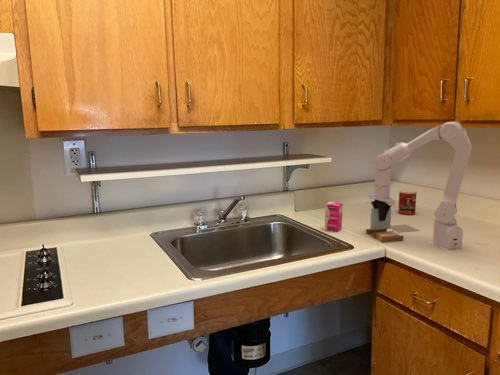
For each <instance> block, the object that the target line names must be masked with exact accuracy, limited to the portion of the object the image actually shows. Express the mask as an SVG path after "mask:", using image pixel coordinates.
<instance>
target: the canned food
mask: <svg viewBox="0 0 500 375" xmlns="http://www.w3.org/2000/svg"><path fill="white" fill-rule="evenodd" d="M417 193H418V192H417V191H416V190H415V189H400V190H399V193H398V194H399V195H398V210H397V211H398V214H400V215H403V216H413V215H415V213H416V206H417Z"/></svg>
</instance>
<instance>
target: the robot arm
mask: <svg viewBox="0 0 500 375" xmlns="http://www.w3.org/2000/svg"><path fill="white" fill-rule="evenodd" d="M442 139H443V141H446V142H447V143H448V144H449V145H450V146H451V147H452V149H453V150H454V151H455V152H454V155H453V156H454V157H453V159H452V163H451V167H450V170H449V173H448V178H447V181H446V184H445V186H444V187H445V189H444V190H443V195H442V197H441V200H440V203H439V205H438V206H437V207H436V209H435V211H434V217H435V218H434V221H433V234H432V241H427V243H428V244H431V245H433V246H435V247H437V248H440V249H442V250H444V251H447V250H456V249H464V247H463V238H464V237H463V235H464V231H463V228H462V227H460V226H459V225H458V223H457V222H458V220H456V217H455V216H456V215H457V212H458V208H457V202H458V198H459V194H460V190H461V187H462V184H463V180H464V176H465V173H466V169H467V165H468V162H469V159H470V156H471V152H472V144H471V141H470V139H469V136H468V134H467V131H466V129H465V128H464V127H463V125H462V124H460V123H459V122H458V121H448V122H444V123H442V124H441V125H438V126H435V127H432V128H431V129H429V130H427V131H426V132H424V133H422V134H420V135H419V136H417V137H415V138H414V139H413V140H410V141H408V142H396V143H394V146H393V147H391V148H389V149H388V150H387V149H385V150H383V153H380V154H378V155H376V157H374V160H373V165H374V166H373V167H375V171H374V184H373V185H374V187H373V193H369V199H371V200H373V201H370V204H371V205H372V207H373V208H372V209H376V208H378V212H379V221H385V219H386V216H387V213H388V211H389V209H390V208H392V206H395V203H396V202H395V201H396V200H395V199H392V197H390V196H391V195H390V193H391V178H392V176H391V175H392V174H391V171H392V170H391V167H392V165H396V164H397V163H400V162H401V161H403V160H405V159H406V158H409V157H410V156H411V153H412V151H414V150H415V149H417V148H419V147H421V146H423V145H425V144H427V143H429V142H431V141H435V140H436V141H438V140H439V141H440V140H442Z"/></svg>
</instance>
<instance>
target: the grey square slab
mask: <svg viewBox="0 0 500 375" xmlns="http://www.w3.org/2000/svg"><path fill="white" fill-rule="evenodd" d="M391 218H392V207H390V209H389V211H388V213H387V216H386V219H385V221H379V212H378V208H376V209H374V208H371V209H370V228H369V229H371V230H380V229H387V230H389V229H390V226H391ZM390 230H391V229H390Z"/></svg>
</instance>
